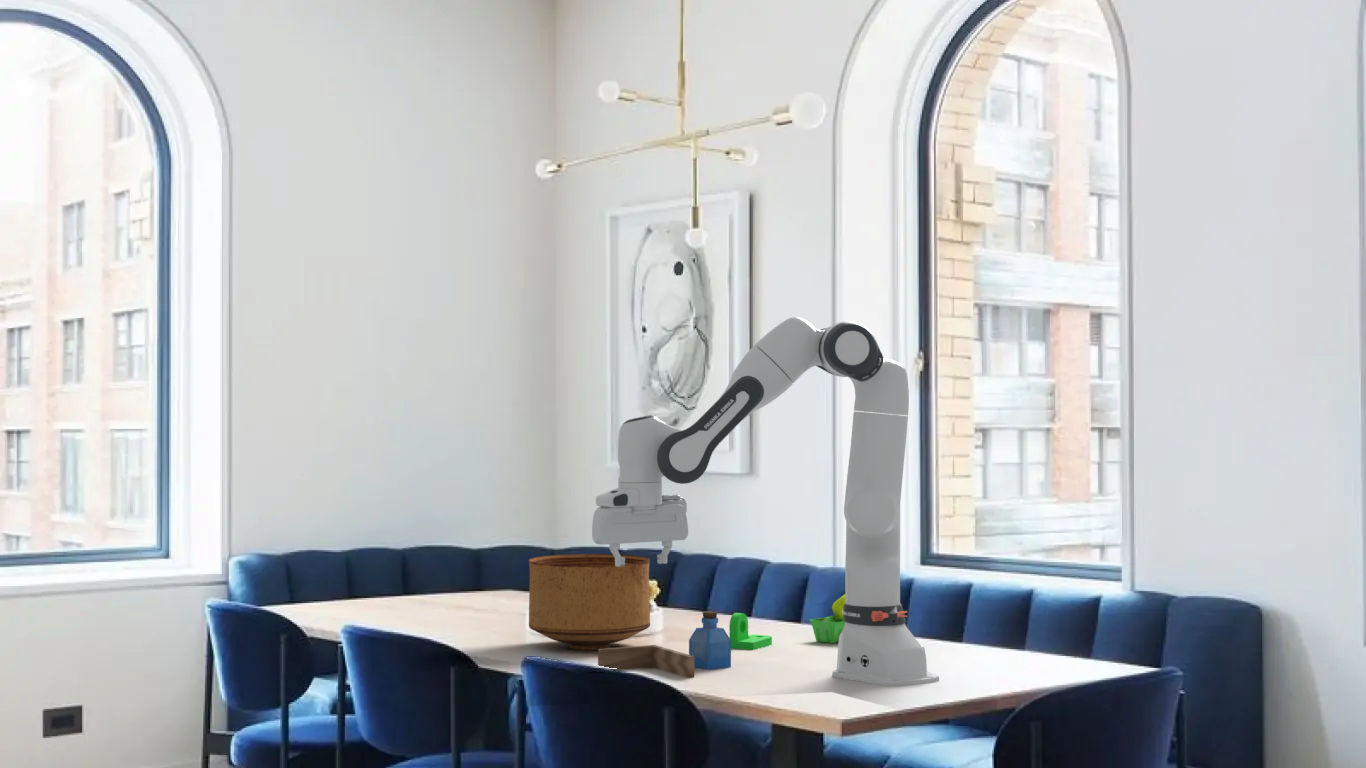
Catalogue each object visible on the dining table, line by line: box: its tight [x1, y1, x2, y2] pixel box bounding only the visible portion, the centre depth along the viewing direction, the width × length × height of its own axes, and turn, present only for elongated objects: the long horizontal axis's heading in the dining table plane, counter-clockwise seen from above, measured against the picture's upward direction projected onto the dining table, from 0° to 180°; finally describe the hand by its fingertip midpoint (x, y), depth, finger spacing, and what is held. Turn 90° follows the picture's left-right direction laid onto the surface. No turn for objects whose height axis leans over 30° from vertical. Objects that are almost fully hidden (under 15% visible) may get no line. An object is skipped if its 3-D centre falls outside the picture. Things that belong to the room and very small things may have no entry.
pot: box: [528, 553, 651, 651], centre depth 381 cm, size 28×28×20 cm
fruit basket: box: [809, 593, 845, 644], centre depth 392 cm, size 11×9×11 cm
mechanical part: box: [728, 612, 773, 651], centre depth 383 cm, size 12×6×8 cm, turn 151°
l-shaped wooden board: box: [597, 644, 695, 679], centre depth 339 cm, size 18×13×5 cm
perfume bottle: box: [688, 610, 732, 671], centre depth 349 cm, size 6×6×12 cm
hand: (641, 564), depth 338 cm, fingers open, 8 cm apart
